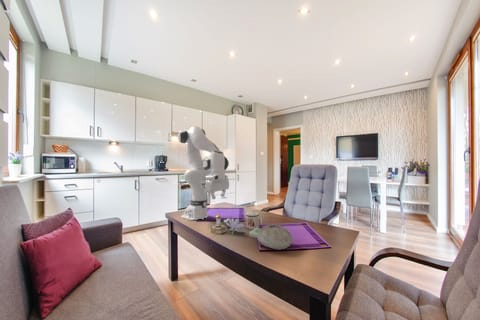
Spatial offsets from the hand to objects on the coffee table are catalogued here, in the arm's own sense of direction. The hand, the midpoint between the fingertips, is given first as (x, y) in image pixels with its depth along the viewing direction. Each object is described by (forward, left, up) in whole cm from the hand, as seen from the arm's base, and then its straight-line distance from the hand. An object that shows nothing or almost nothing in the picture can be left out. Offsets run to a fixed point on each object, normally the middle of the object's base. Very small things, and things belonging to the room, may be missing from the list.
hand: (218, 197), depth 125 cm
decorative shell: (+39, -3, -22) cm, 45 cm away
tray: (+25, +6, -21) cm, 34 cm away
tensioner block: (0, 0, -21) cm, 21 cm away
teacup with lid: (+16, +18, -22) cm, 33 cm away
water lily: (+11, +3, -22) cm, 25 cm away
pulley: (+1, +10, -21) cm, 24 cm away
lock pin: (0, 0, -21) cm, 21 cm away
